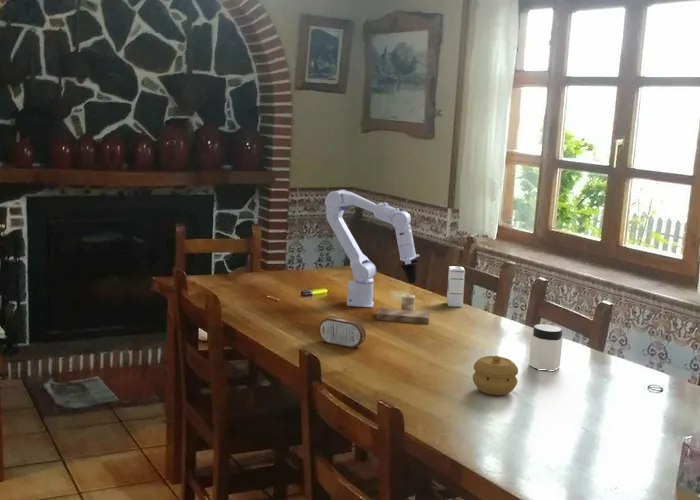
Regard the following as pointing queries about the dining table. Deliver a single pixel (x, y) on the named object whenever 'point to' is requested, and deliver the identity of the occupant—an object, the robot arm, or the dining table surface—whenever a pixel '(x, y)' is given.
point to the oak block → (408, 302)
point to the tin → (342, 332)
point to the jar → (546, 347)
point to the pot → (495, 375)
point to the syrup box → (455, 286)
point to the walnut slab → (403, 315)
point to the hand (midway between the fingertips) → (412, 281)
